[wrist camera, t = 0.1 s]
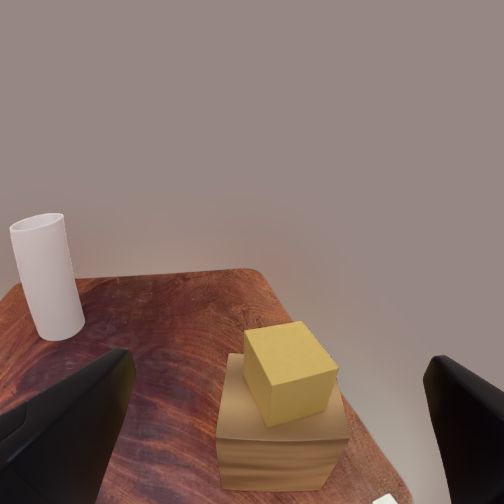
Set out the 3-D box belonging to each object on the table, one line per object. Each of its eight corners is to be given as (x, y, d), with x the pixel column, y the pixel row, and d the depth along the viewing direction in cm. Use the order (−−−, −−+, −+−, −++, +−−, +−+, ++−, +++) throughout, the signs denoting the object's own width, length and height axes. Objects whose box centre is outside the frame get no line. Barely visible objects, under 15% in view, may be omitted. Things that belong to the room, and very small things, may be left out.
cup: (51, 309, 40) (30, 214, 34) (92, 312, 40) (73, 211, 35) (29, 337, 32) (-2, 232, 26) (73, 344, 33) (43, 229, 27)
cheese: (325, 410, 16) (339, 367, 15) (266, 428, 15) (271, 385, 14) (295, 363, 21) (301, 320, 19) (243, 374, 20) (244, 330, 18)
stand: (320, 490, 17) (350, 437, 14) (221, 489, 18) (214, 437, 14) (312, 421, 25) (331, 355, 22) (230, 419, 25) (228, 352, 22)
